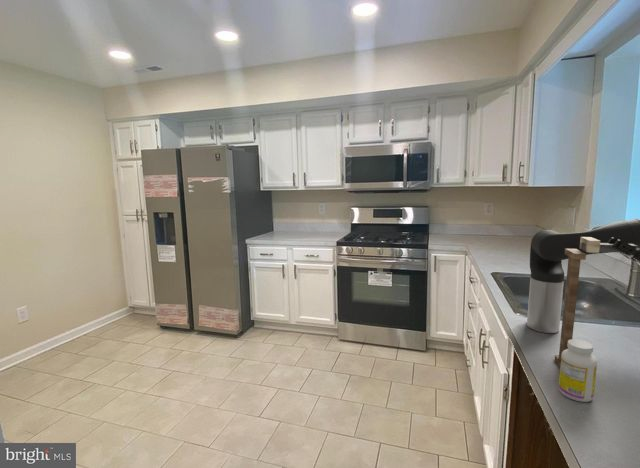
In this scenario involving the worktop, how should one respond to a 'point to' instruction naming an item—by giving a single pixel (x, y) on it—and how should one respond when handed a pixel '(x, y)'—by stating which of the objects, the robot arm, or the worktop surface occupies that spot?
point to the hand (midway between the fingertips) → (612, 242)
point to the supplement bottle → (578, 371)
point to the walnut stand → (570, 299)
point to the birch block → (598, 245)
